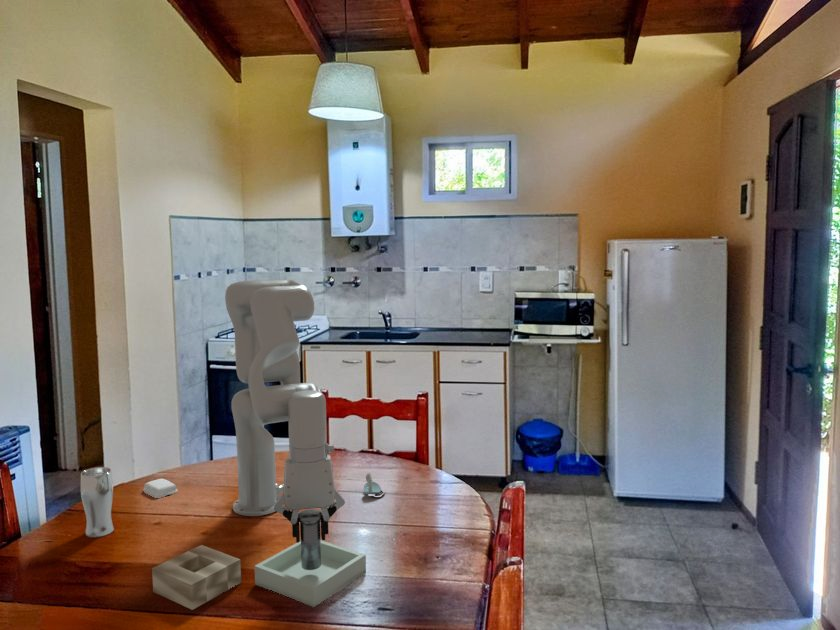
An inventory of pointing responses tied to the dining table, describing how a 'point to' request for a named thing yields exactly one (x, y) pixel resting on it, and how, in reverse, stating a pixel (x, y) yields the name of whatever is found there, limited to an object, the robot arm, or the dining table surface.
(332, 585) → the tray
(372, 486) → the pacifier
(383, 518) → the dining table surface
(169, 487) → the soap
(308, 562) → the steel pin
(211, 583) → the pin block
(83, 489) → the beer glass
